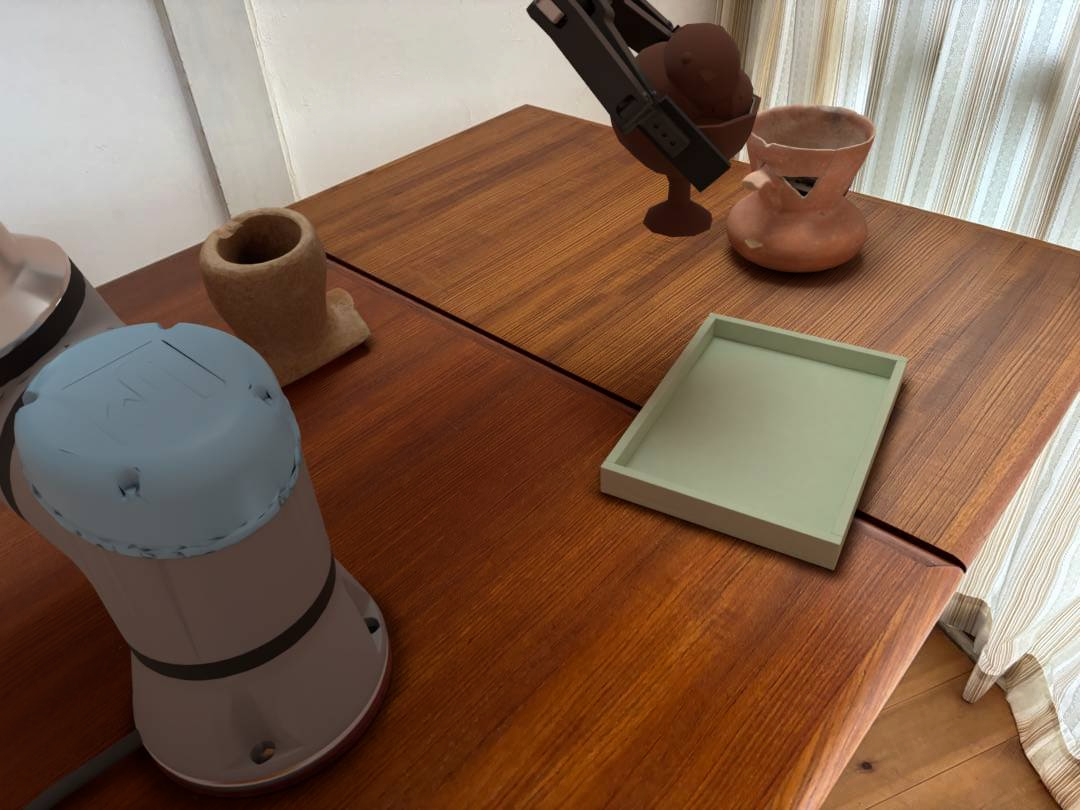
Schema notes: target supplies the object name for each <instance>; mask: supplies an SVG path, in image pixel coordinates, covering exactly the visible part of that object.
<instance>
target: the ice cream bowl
mask: <svg viewBox="0 0 1080 810" xmlns="http://www.w3.org/2000/svg"><path fill="white" fill-rule="evenodd" d="M680 27H681V28H679V29H677V30H676V32H675V33H674V35H673V36H672V37H671V38H670V40H669V41H668V42H660V43H656V44H654V45H652V46H649V47H647V48H645V49H643V50H642V51H641V52H640V53H639V54H638V53H637V55H636V56H635V58H636V60H637V61H638V63H639V64H640V66H641V67H642V69H643V70H644V72H645V73H646V75H647V76H648V78H649V79H650V81H651V83H652V84H653V86H654V87H655V89H656V90H657V91H658V92H659V94H660V96H661V98H663V97H664V96H665V95H666V94H667V95H668V96H669V97H670V98H671V99H672V101H673V102H674V103H675V104H676V105H677V106H678V107H679V108H680V109H681V110H682V111H683V112H684V113H685V114H686V116H687V117H688V118H689V119H690V120H691V121H692V122H693V123H694V124H695V125H696V126H697V127H698V128H699V129H700V131H701V132H702V133H703V134H704V135H705V136H706V137H707V138H708V139H709V140H710V141H711V142H712V143H713V144H714V146H715V147H716V148H717V149H718V150H719V151H720V152H721V153H722V154H723V155H724V156H725V157H726V158H727V159H728V161H729V162H730V160H731V159H732V158H734V157H735V156H736V155H737V154H739V153H740V152H741V151H742V150H743V149H744V147H745V145H746V142H747V140H748V138H749V137H750V135H751V132H752V129H753V126H754V123H755V119H756V116H757V113H759V109H760V105H761V102H762V97H761V96H759V95H757V94H755V93H754V89H755V88H754V86H753V84H752V81H751V79H750V76H749V75H748V74H747V73H746V72H745V71H744V70H743V69H742V68H741V65H742V64H741V63H742V62H741V52H740V49H739V46H738V44H737V42H736V41H735V39H734V38H733V37H732V36H731V35H730V34H729V33H728V32H727V31H726V28H725V27H724V26H723V25H720V24H715V23H711V22H697V23H696V22H694V23H686V24H684V25H682V26H680ZM609 119H610V123H611V124H610V125H611V127H612V129H613V133H614V134H615V136H616V138H617V140H618V142H619V143H620V144H621V145H622V146H623V147H624V148H625V150H627V152H629V153H630V155H632V156H633V158H634V159H636V160H637V161H638V162H639V163H641V164H642V165H643V166H644V167H646V168H647V169H649V170H651V171H652V172H654V173H656V174H658V175H659V174H660V175H664V176H666V179H667V182H668V191H667V199H665V200H663V201H662V202H659V203H657V204H655V205H653V206H651V207H648V209H647V211H646V213H645V215H644V218H643V220H642V224H643V225H644V226H645V228H646V229H648V231H650V232H651V233H652V234H657V235H661V236H665V237H669V238H687V237H697V236H698V235H700V234H703V233H704V232H707V231H709V230H710V229H711V226H712V224H713V220H714V219H713V215H712V213H711V212H710V211H709V210H708V209H707V208H706V207H704V206H703V205H702V204H699V203H698V202H696V201H694V200H691V195H692V194H691V193H692V192H691V191H692V190H691V189H692V184H691V183H690V182H689V181H688V180H687V179H686V178H685V177H684V176H683V175H682V174H681V173H680V171H679V170H678V169H677V168H676V167H675V166H674V165H673V164H672V163H671V162H670V161H669V160H668V159H667V158H666V157H665V156H664V155H663V154H662V153H661V152H660V151H659V150H658V149H657V148H656V147H655V146H654V144H653V143H652V142H651V141H650V140H649V139H648V138H647V137H646V136H645V135H644V134H643V133H642V132H641V131H640V130H639V129H638V128H637V127H635V128H634V129H633V130H632V131H631V132H630V133H629V134H628V135H625V134H623V133H622V132H621V131H620V130H619V129H618V128H617V127H618V126H617V125H616V123H615V122H614V120H613V119H612V118H611V116H610V115H609Z"/></svg>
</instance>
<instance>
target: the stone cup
mask: <svg viewBox="0 0 1080 810" xmlns="http://www.w3.org/2000/svg"><path fill="white" fill-rule="evenodd" d="M327 259H328V258H327V254H326V250H325V247H324V244H323V242H322V240H321V237H320V236H319V233H318V231H317V229H316V228H315V227H314V225H313V224H312V222H311V221H310V220H309V219H308V218H307V217H306V216H305V215H303V213H301V212H298V211H296V210H293V209H290V208H284V207H271V206H270V207H269V206H266V207H258V208H254V209H249V210H246V211H243V212H241V213H239V214H236V215H235V216H233V217H232V218H231V219H229V220H228V221H227V222H225V223H224V224H222V225H221V226H219V227H218V228H215V229H214V230H213V231H211V232H210V233H209V234H208V235H207V237H206V239H205V240H204V242H203V244H202V246H201V248H200V251H199V255H198V263H199V271H200V275H201V278H202V283H203V284H204V289H205V291H206V294H207V296H208V300H209V301H210V303H211V304H212V305H213V308H214V309H215V311H216V312H217V313H218V315H219V316H220V317H221V318H222V320H223V321H224V322H225V323H226V325H227V326H228V327H229V329H231V330H232V331H233V333H234V335H235V337H236V338H238V339H240V340H241V341H243V342H244V343H246V344H248V345H249V346H250V347H252V348H253V349H254V350H255V351H256V352H258V353H259V354H260V355H261V356H262V358H263V359H264V360H265V361H266V362H267V364H268V365H269V366H270V368H271V369H272V371H273V373H274V374H275V376H276V378H277V380H278V383H279V385H280V387H281V388H283V387H285V386H286V387H287V386H288V385H291V384H292V383H294V382H297V381H299V380H300V379H302V378H304V377H306V376H307V375H309V374H311V373H313V372H315V371H317V370H319V369H321V368H322V367H324V366H325V365H327V364H329V363H331V362H332V361H334V360H336V359H337V358H339V357H341V356H343V355H345V354H347V353H348V352H349V351H351V350H353V349H355V348H356V347H358V346H359V345H361V344H363V343H364V342H366V341H367V340H369V339H370V338H371V336H372V333H371V330H370V328H369V326H368V324H367V323H366V321H365V320H364V319H363V318H362V316H361V315H360V314H359V312H358V311H357V310H356V304H355V302H354V298H353V297H352V296H351V294H350V293H349V292H348V291H347V290H345V288H341V287H335V288H332V289H330V290H328V291H327V273H328V262H327Z"/></svg>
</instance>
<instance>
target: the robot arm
mask: <svg viewBox="0 0 1080 810" xmlns="http://www.w3.org/2000/svg"><path fill="white" fill-rule="evenodd" d="M525 11H526V14H527V15H528V17H529V18H530V19H531V20H533V22H534V23H536V25H537V26H538V27H539V28H540V29H541V30H542V31H543V32H544V33H545V34H546V35H547V36H548V37H549V38H550V39H551V41H552V42H553V43H554V45H555V46H556V47H557V49H558V50H559V51H560V52H561V54H562V55H563V57H564V58H565V59H566V61H567V62H568V63H569V64H570V66H571V67H572V68H573V70H574V71H575V72H576V73H577V75H578V76H579V77H580V78H581V80H582V81H583V82H584V84H585V85H586V87H587V88H588V89H589V90H590V91H591V93H592V94H593V96H594V97H595V98H596V99H597V101H598V102H599V103H600V105H601V106H602V107H603V109H604V110H605V111H606V113H607V114H608V115H609V117H610V116H611V118H612V119H613V120H614V122H615V123H616V125H617V126H618V127H617V128H618V129H619V130H620V131H621V132H622V133H623V134H625V135H628V134H629V133H630V132H631V131H632V130H633V129H634V128H635V127H637V128H638V129H639V130H640V131H641V132H642V133H643V134H644V135H645V136H646V137H647V138H648V139H649V140H650V141H651V142H652V143H653V144H654V146H655V147H656V148H657V149H658V150H659V151H660V152H661V153H662V154H663V155H664V156H665V157H666V158H667V159H668V160H669V161H670V162H671V163H672V164H673V165H674V166H675V167H676V168H677V169H678V170H679V171H680V173H681V174H682V175H683V176H684V177H685V178H686V179H687V180H688V181H689V182H690V183H691V186H693V187H694V189H696V190H697V191H698V193H700V194H702V193H703V192H704V191H705V190H706V189H707V188H709V187H710V186H711V185H712V184H714V183H715V182H716V181H717V180H718V179H719V178H721V177H722V176H723V175H724V174H726V173H727V172H728V171H729V170H730V169H731V168H732V163H731V162H730V160H729V161H728V159H727V158H726V157H725V156H724V155H723V154H722V153H721V152H720V151H719V150H718V149H717V148H716V147H715V146H714V144H713V143H712V142H711V141H710V140H709V139H708V138H707V137H706V136H705V135H704V134H703V133H702V132H701V131H700V129H699V128H698V127H697V126H696V125H695V124H694V123H693V122H692V121H691V120H690V119H689V118H688V117H687V116H686V114H685V113H684V112H683V111H682V110H681V109H680V108H679V107H678V106H677V105H676V104H675V103H674V102H673V101H672V99H671V98H670V97H669V96H668V95H667V94H666V95H665V96H664V97H663V98H661V96H660V94H659V92H658V91H657V90H656V89H655V87H654V86H653V84H652V83H651V81H650V79H649V78H648V76H647V75H646V73H645V72H644V70H643V69H642V67H641V66H640V64H639V63H638V61H637V60H636V58H635V57H636V56H635V54H634V53H633V52H632V51H634V52H635V53H636V54H637V55H638V54H639V53H640V52H641V51H642V50H643V49H645V48H647V47H649V46H652V45H654V44H656V43H660V42H668V41H669V40H670V38H671V37H672V36H673V35H674V33H675V32H676V30H677V29H679V28H681V27H682V26H681V25H680V24H676V26H674V24H673V22H672V21H671V20H670V19H668V18H666V17H665V16H664V14H662V13H661V12H660V10H658V9H657V8H656V7H655V6H654V5H653V4H651V2H649V1H648V0H532V1H531V2H530V4H528V6H527V7H526V9H525ZM0 502H2V504H4V505H5V506H6V507H7V508H9V509H10V510H11V511H12V512H13V513H15V514H16V515H17V516H18V517H20V518H21V519H22V520H23V521H24V522H26V523H27V524H28V525H29V526H31V528H32V529H34V530H35V531H36V532H38V533H39V534H40V535H41V536H42V537H43V538H44V539H46V540H47V541H48V542H49V543H51V544H52V545H53V546H54V547H56V548H57V549H58V550H59V551H60V552H62V554H63V555H65V556H66V557H68V558H69V559H70V561H72V562H73V563H74V564H75V566H76V567H77V568H78V569H79V570H80V571H81V572H82V574H83V575H84V576H85V577H86V579H87V580H88V581H89V583H90V584H91V585H92V587H93V588H94V591H95V592H96V593H97V595H98V597H99V598H100V601H101V602H102V604H103V605H104V607H105V609H106V610H107V612H108V614H109V615H110V617H111V619H112V620H113V622H114V624H115V626H116V628H117V629H118V631H119V632H120V635H122V637H123V639H124V641H125V642H126V644H127V646H128V647H129V649H130V656H131V657H130V659H131V661H130V662H131V663H130V665H131V683H132V711H133V712H132V713H133V719H134V724H135V729H134V730H133V731H131V732H130V733H129V734H127V735H126V736H124V737H123V738H121V739H120V740H118V741H117V742H115V743H113V744H112V745H111V746H109V747H108V748H106V749H105V750H103V751H101V752H100V753H99V754H98V755H96V756H94V757H93V758H92V759H90V760H88V761H87V762H85V763H83V765H81V766H79V767H78V768H76V769H74V770H73V771H71V772H70V773H68V774H67V775H65V776H63V777H62V778H61V779H59V780H58V781H56V782H55V783H54V784H52V785H51V786H49V787H48V788H47V789H46V790H44V791H43V792H42V793H40V794H39V795H38V796H37V797H36V798H34V800H32V801H31V802H30V803H28V805H26V806H25V807H24V808H23V809H22V810H52V809H53V808H54V807H55V806H56V805H58V804H59V803H60V802H63V800H65V799H66V798H67V797H69V796H70V795H72V794H73V793H74V792H76V791H78V790H79V789H81V788H82V787H84V786H85V785H87V784H88V783H90V782H91V781H93V780H95V779H96V778H97V777H99V776H101V775H102V774H103V773H105V772H106V771H107V770H110V768H112V767H113V766H115V765H116V764H118V763H119V762H121V761H122V760H124V759H125V758H127V757H128V756H129V755H131V754H132V753H134V752H136V751H137V750H139V749H140V748H142V747H144V748H145V749H146V751H147V752H148V754H149V755H150V757H151V759H152V760H153V761H154V763H155V765H157V767H158V769H160V771H161V772H163V773H164V775H165V776H166V777H167V778H169V779H170V780H172V781H173V782H174V783H176V784H178V785H179V786H182V787H183V788H185V789H187V790H190V791H192V792H195V793H197V794H201V795H205V796H209V797H216V798H228V799H229V798H231V799H235V798H236V799H237V798H250V797H256V796H263V795H266V794H270V793H274V792H278V791H281V790H285V789H286V788H289V787H292V786H294V785H297V784H299V783H300V782H301V783H302V782H303V781H305V780H306V779H309V778H310V777H313V776H315V775H316V774H318V773H320V772H321V771H322V770H324V769H325V768H328V766H329V765H331V764H332V763H334V762H335V761H337V760H338V759H339V758H340V757H341V756H342V755H344V753H346V752H347V751H348V750H350V748H351V747H353V745H354V744H355V743H356V742H357V741H358V740H359V738H360V737H361V736H362V735H363V734H364V733H365V731H366V730H367V729H368V727H369V726H370V725H371V723H372V722H373V720H374V719H375V717H376V715H377V714H378V712H379V710H380V708H381V706H382V704H383V701H384V700H385V697H386V694H387V692H388V689H389V685H390V680H391V677H392V669H393V652H392V644H391V640H390V637H389V636H390V635H389V632H388V628H387V624H386V621H385V618H384V616H383V613H382V612H381V609H380V608H379V605H378V604H377V602H376V600H375V599H374V598H373V597H372V596H371V594H370V593H369V592H368V591H367V590H366V589H365V587H363V585H362V584H360V582H358V580H357V579H356V578H355V577H354V576H353V575H352V574H351V573H350V572H349V570H347V569H346V568H345V567H344V566H343V564H341V562H340V561H339V560H338V559H337V558H335V556H334V553H333V549H332V546H331V544H330V540H329V536H328V533H327V530H326V526H325V522H324V520H323V516H322V512H321V509H320V506H319V503H318V499H317V495H316V492H315V488H314V486H313V482H312V479H311V476H310V471H309V469H308V466H307V462H306V459H305V455H304V452H303V448H302V437H301V432H300V428H299V424H298V422H297V418H296V415H295V414H294V411H293V410H292V407H291V404H290V401H289V400H288V398H287V396H286V395H285V394H284V392H283V390H282V387H280V385H279V383H278V380H277V378H276V376H275V374H274V373H273V371H272V369H271V368H270V366H269V365H268V364H267V362H266V361H265V360H264V359H263V358H262V356H261V355H260V354H259V353H258V352H256V351H255V350H254V349H253V348H252V347H250V346H249V345H248V344H246V343H244V342H243V341H241V340H240V339H238V338H236V336H234V335H232V334H230V333H228V332H225V331H223V330H221V329H217V328H214V327H210V326H206V325H204V324H203V325H202V324H196V323H190V322H178V323H176V324H175V325H173V326H172V327H170V328H166V329H164V327H163V325H161V324H160V322H146V323H139V324H132V325H126V323H124V321H123V320H121V318H119V316H118V315H117V314H116V313H115V311H113V310H112V308H111V307H110V306H109V304H108V303H107V302H106V301H105V299H104V298H103V297H102V296H101V294H99V291H97V290H96V289H95V287H94V286H93V285H92V283H91V282H90V281H89V280H88V279H87V277H86V276H85V275H84V274H83V272H82V271H81V270H80V269H79V267H78V266H77V265H76V264H75V263H74V261H73V260H72V259H71V258H70V256H69V255H68V254H67V253H66V251H65V250H64V249H63V248H62V247H61V246H60V245H59V244H58V243H57V242H55V241H54V240H51V239H49V238H47V237H44V236H40V235H34V234H33V235H32V234H24V233H17V232H10V231H9V229H8V228H7V227H6V225H4V223H3V222H2V221H1V220H0Z"/></svg>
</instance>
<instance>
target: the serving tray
mask: <svg viewBox="0 0 1080 810" xmlns="http://www.w3.org/2000/svg"><path fill="white" fill-rule="evenodd" d="M908 364H909V357H906V356H902V355H898V354H892V353H889V352H886V351H881V350H876V349H873V348H868V347H864V346H859V345H856V344H850V343H846V342H842V341H837V340H833V339H829V338H825V337H824V338H823V337H820V336H815V335H811V334H808V333H807V334H806V333H802V332H799V331H794V330H789V329H784V328H780V327H776V326H772V325H767V324H763V323H760V322H759V323H758V322H755V321H751V320H745V319H741V318H738V317H732V316H729V315H723V314H720V313H715V312H710V313H709V314H708V316H707V317H706V318H705V320H704V321H703V322H702V324H701V326H700V327H699V328H698V329H697V331H696V333H695V334H694V335H693V336H692V338H691V339H690V341H689V342H688V343H687V345H686V346H685V348H684V349H683V351H682V352H681V353H680V355H679V356H678V357H677V359H676V360H675V361H674V363H673V364H672V366H671V368H670V369H669V370H668V372H667V373H666V374H665V376H664V377H663V379H662V380H661V381H660V382H659V384H658V385H657V387H656V388H655V390H654V391H653V392H652V394H651V395H650V397H649V398H648V400H646V402H645V404H644V405H643V407H642V408H641V409H640V411H639V412H638V413H637V415H636V416H635V418H634V419H633V420H632V422H631V424H630V425H629V426H628V427H627V428H626V430H625V432H624V433H623V434H622V436H621V437H620V439H619V440H618V441H617V443H616V444H615V446H614V447H613V448H612V450H611V451H610V453H609V454H608V455H607V456H606V458H605V460H604V461H603V462H602V463H601V465H600V467H599V469H600V470H599V471H600V492H601V493H604V494H607V495H610V496H613V497H616V498H619V499H621V500H625V501H628V502H631V503H634V504H636V505H639V506H642V507H646V508H648V509H651V510H655V511H657V512H660V513H663V514H666V515H669V516H672V517H675V518H678V519H680V520H684V521H686V522H690V523H693V524H695V525H699V526H701V527H704V528H707V529H710V530H713V531H717V532H718V533H721V534H725V535H728V536H731V537H734V538H737V539H740V540H743V541H745V542H748V543H752V544H754V545H758V546H760V547H763V548H767V549H769V550H772V551H775V552H778V553H781V554H784V555H787V556H790V557H793V558H796V559H799V560H801V561H804V562H807V563H810V564H813V565H816V566H819V567H822V568H825V569H828V570H831V571H834V570H835V569H836V566H837V563H838V560H839V558H840V555H841V553H842V550H843V547H844V544H845V542H846V538H847V536H848V533H849V530H850V528H851V525H852V522H853V519H854V516H855V513H856V511H857V509H858V505H859V503H860V500H861V498H862V494H863V492H864V489H865V486H866V484H867V481H868V478H869V476H870V472H871V470H872V467H873V463H874V462H875V459H876V456H877V453H878V451H879V448H880V445H881V442H882V439H883V437H884V434H885V432H886V428H887V425H888V423H889V420H890V417H891V415H892V413H893V409H894V406H895V404H896V401H897V399H898V395H899V393H900V391H901V387H902V385H903V382H904V381H903V380H904V377H905V375H906V371H907V366H908Z"/></svg>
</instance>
